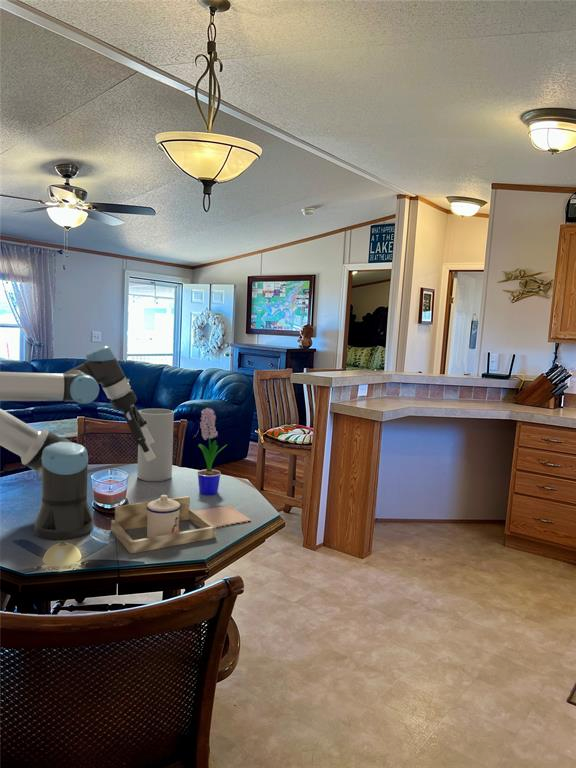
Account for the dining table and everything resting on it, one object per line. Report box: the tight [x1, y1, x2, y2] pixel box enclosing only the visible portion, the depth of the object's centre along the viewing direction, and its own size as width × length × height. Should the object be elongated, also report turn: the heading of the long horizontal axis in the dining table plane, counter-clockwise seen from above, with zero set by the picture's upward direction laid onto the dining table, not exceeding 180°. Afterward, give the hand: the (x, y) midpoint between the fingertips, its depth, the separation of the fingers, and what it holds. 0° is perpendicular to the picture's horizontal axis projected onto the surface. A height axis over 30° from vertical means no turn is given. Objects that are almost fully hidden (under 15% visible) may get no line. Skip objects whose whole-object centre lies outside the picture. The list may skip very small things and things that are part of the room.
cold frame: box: [110, 495, 217, 555], centre depth 155 cm, size 24×17×7 cm
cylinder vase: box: [137, 408, 175, 483], centre depth 207 cm, size 12×12×25 cm
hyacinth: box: [197, 407, 228, 496], centre depth 193 cm, size 9×10×30 cm
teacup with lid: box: [146, 494, 181, 538], centre depth 155 cm, size 12×9×12 cm
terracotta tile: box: [194, 505, 252, 529], centre depth 171 cm, size 14×14×1 cm
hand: (151, 451), depth 179 cm, fingers open, 13 cm apart
